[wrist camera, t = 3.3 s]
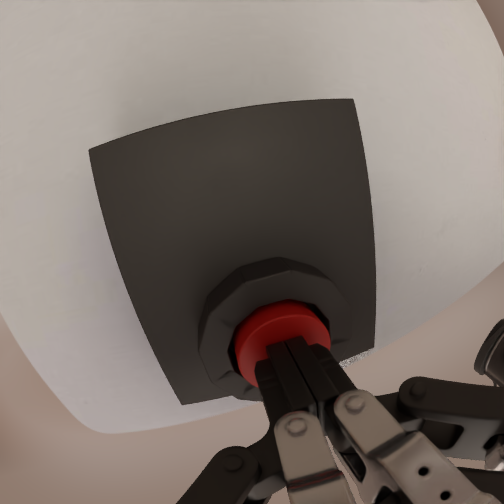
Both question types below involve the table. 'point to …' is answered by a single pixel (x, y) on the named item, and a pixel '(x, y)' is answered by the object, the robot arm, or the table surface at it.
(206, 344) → the red push button box
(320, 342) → the power button
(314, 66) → the table surface
